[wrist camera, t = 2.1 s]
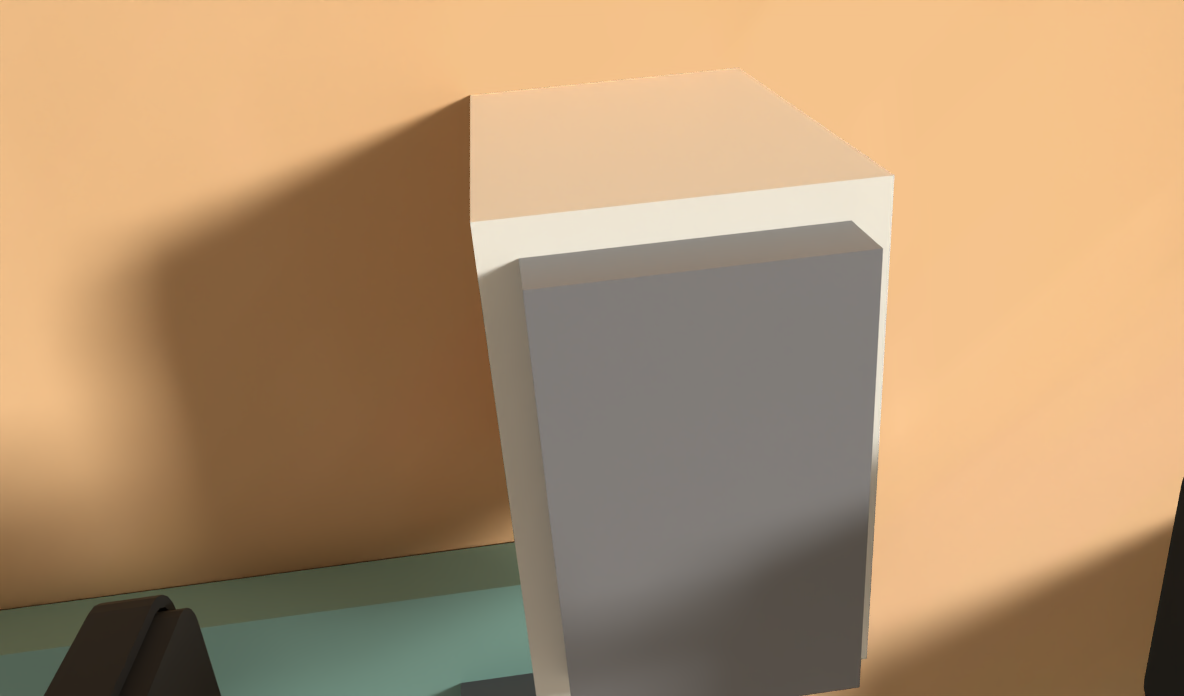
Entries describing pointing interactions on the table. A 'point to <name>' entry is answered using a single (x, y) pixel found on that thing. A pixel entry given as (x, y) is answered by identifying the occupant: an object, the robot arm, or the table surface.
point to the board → (327, 630)
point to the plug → (684, 380)
